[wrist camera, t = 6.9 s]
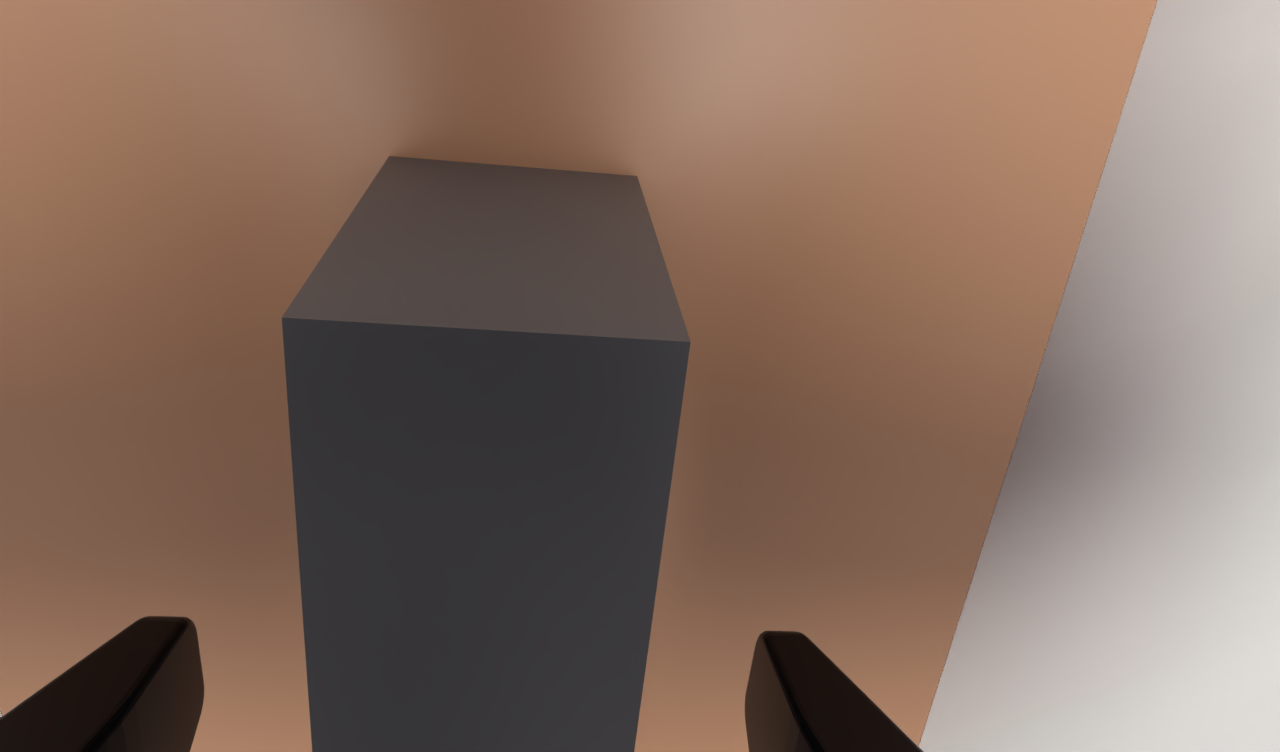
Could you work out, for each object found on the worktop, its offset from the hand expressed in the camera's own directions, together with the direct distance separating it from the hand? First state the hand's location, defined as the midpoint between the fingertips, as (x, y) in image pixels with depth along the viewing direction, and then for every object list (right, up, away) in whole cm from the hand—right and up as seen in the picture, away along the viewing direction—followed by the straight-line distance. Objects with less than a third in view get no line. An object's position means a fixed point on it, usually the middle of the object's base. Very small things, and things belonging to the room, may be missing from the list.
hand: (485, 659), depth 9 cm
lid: (0, +2, +3) cm, 4 cm away
